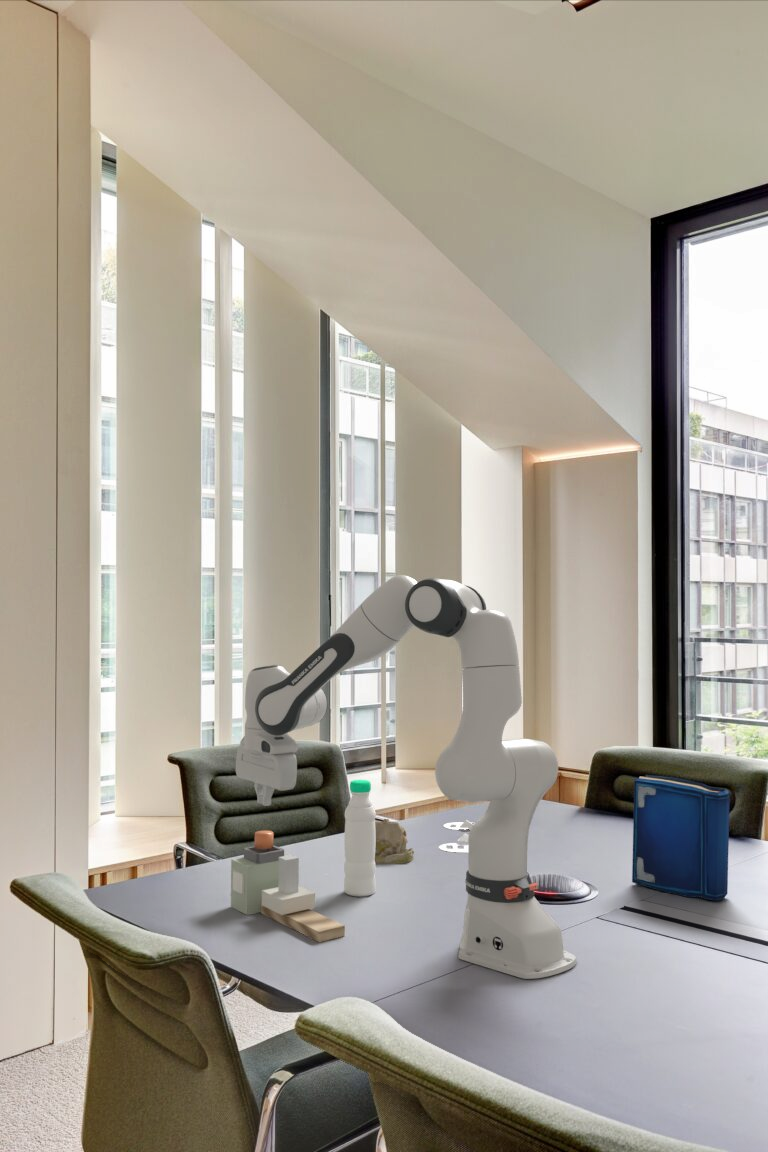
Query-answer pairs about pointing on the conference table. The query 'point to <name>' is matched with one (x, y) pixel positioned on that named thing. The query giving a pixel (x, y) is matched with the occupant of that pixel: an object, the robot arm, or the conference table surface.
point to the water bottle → (360, 841)
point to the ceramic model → (391, 843)
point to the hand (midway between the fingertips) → (264, 804)
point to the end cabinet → (254, 877)
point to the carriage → (288, 890)
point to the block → (308, 923)
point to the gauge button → (264, 839)
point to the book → (681, 837)
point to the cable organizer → (462, 838)
